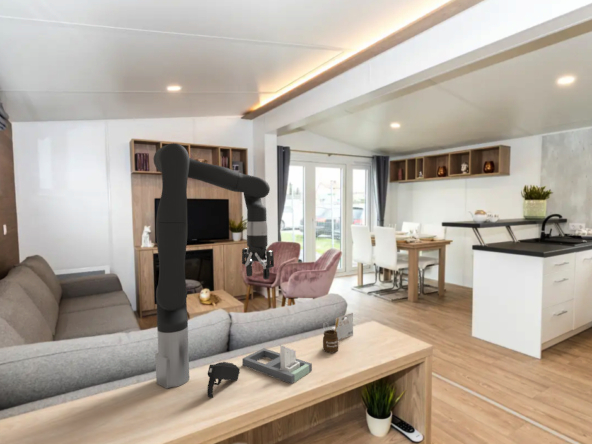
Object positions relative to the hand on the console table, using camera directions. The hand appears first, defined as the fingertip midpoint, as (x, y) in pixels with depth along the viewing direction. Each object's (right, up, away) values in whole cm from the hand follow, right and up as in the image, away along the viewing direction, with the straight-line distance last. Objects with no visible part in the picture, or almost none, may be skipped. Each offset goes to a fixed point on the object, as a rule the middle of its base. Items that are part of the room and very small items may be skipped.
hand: (257, 277), depth 131 cm
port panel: (+7, -30, -9) cm, 32 cm away
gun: (-8, -31, -20) cm, 38 cm away
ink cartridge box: (+34, -28, +19) cm, 48 cm away
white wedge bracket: (+12, -30, -13) cm, 35 cm away
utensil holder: (+28, -29, +6) cm, 41 cm away
